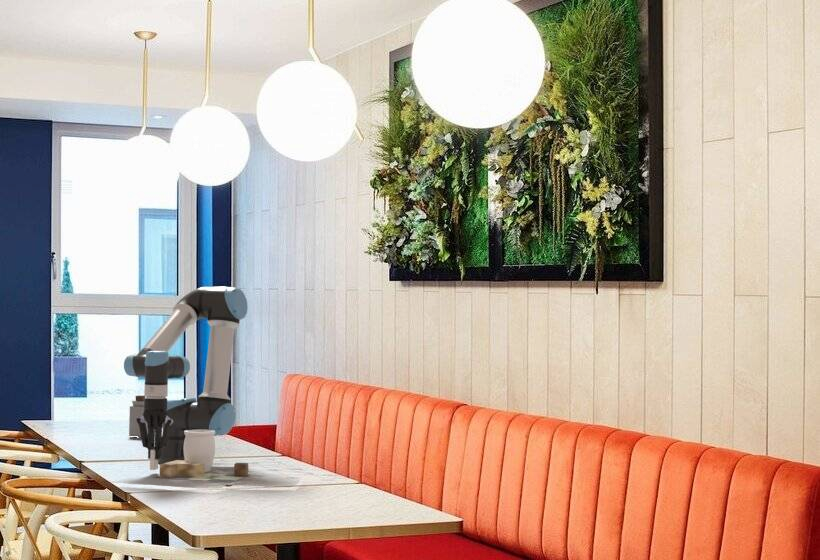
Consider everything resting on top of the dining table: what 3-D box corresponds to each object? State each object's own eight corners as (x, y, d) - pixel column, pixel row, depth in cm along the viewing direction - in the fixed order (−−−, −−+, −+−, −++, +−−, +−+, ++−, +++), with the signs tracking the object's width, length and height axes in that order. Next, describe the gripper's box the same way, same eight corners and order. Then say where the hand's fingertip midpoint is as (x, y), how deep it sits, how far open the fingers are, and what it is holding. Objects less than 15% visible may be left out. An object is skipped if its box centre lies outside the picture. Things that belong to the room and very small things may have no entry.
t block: (159, 476, 361) (159, 464, 361) (176, 472, 372) (177, 460, 372) (193, 478, 357) (193, 466, 358) (209, 474, 369) (210, 461, 369)
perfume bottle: (134, 436, 488) (136, 394, 488) (149, 436, 487) (150, 395, 487) (128, 437, 481) (130, 396, 482) (143, 438, 480) (145, 396, 481)
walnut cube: (234, 476, 365) (234, 464, 365) (236, 474, 369) (236, 462, 369) (246, 476, 365) (246, 464, 365) (248, 475, 369) (248, 462, 369)
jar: (176, 476, 375) (177, 431, 375) (193, 472, 384) (194, 428, 385) (204, 478, 371) (205, 432, 371) (220, 474, 380) (221, 430, 381)
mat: (152, 481, 358) (152, 477, 358) (178, 474, 375) (178, 470, 375) (229, 486, 351) (229, 482, 351) (252, 478, 368) (252, 475, 368)
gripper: (132, 397, 367) (130, 469, 366) (168, 399, 363) (166, 471, 363) (143, 396, 374) (142, 466, 373) (179, 397, 371) (177, 468, 370)
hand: (153, 469), depth 368 cm, fingers closed
